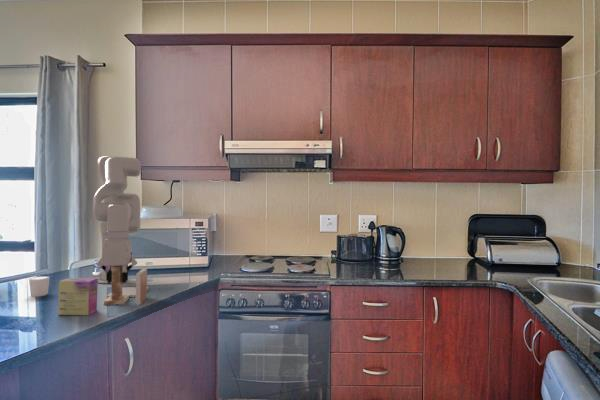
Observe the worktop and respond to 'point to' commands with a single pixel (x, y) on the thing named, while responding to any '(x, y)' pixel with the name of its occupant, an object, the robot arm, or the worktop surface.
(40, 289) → the white cup
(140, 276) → the tile
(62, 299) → the box
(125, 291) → the rest pad
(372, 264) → the worktop surface
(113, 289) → the masher
